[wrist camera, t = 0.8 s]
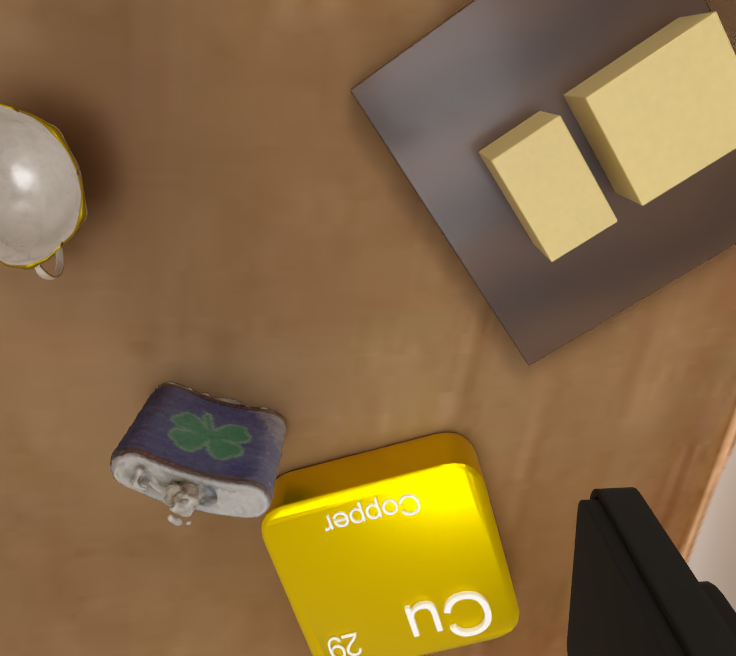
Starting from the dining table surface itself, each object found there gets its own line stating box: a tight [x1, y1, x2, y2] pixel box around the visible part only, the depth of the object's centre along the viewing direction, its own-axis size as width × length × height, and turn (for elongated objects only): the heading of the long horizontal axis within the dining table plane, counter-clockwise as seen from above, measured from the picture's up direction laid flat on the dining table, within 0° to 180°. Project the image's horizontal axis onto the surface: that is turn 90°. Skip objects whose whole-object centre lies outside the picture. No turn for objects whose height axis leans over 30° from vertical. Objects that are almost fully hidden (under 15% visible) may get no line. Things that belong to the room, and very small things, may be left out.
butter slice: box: [479, 111, 617, 262], centre depth 37 cm, size 6×4×4 cm, turn 34°
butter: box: [564, 12, 736, 206], centre depth 35 cm, size 6×7×4 cm
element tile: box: [261, 433, 519, 656], centre depth 47 cm, size 15×15×5 cm
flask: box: [110, 382, 287, 526], centre depth 40 cm, size 9×3×11 cm, turn 72°
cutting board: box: [351, 0, 736, 365], centre depth 39 cm, size 20×18×2 cm
